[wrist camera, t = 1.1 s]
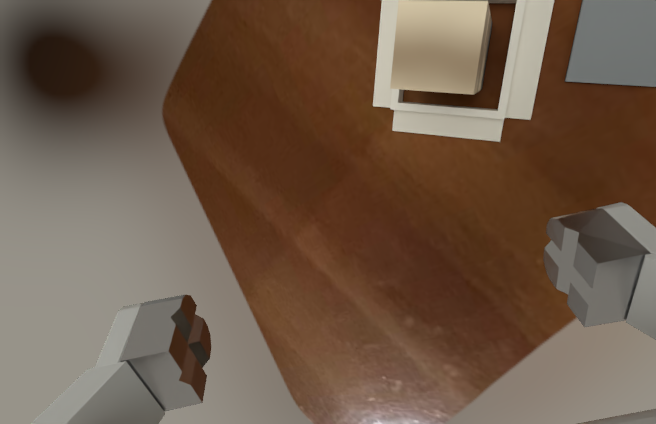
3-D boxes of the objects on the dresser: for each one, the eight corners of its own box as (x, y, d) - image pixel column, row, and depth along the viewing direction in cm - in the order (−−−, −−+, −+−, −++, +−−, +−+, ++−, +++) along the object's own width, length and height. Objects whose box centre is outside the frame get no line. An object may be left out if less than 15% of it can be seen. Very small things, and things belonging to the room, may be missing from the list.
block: (429, 22, 36) (398, 0, 26) (492, 23, 35) (488, 0, 24) (421, 85, 38) (390, 88, 27) (482, 89, 36) (473, 94, 26)
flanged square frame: (385, -32, 36) (379, -38, 35) (561, -36, 32) (564, -42, 30) (371, 128, 41) (365, 130, 39) (525, 143, 36) (526, 147, 35)
